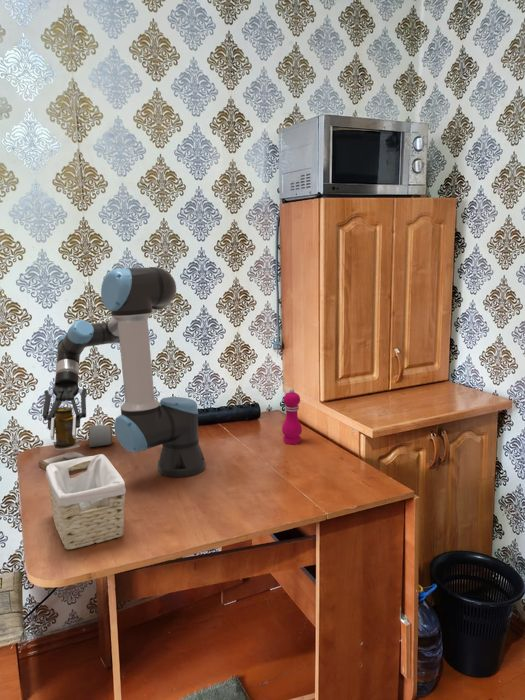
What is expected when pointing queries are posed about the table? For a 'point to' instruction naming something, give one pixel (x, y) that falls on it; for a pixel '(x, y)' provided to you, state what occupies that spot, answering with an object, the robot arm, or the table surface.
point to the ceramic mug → (100, 435)
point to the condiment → (64, 429)
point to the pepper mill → (291, 418)
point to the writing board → (61, 458)
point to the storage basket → (86, 501)
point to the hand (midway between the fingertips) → (63, 437)
